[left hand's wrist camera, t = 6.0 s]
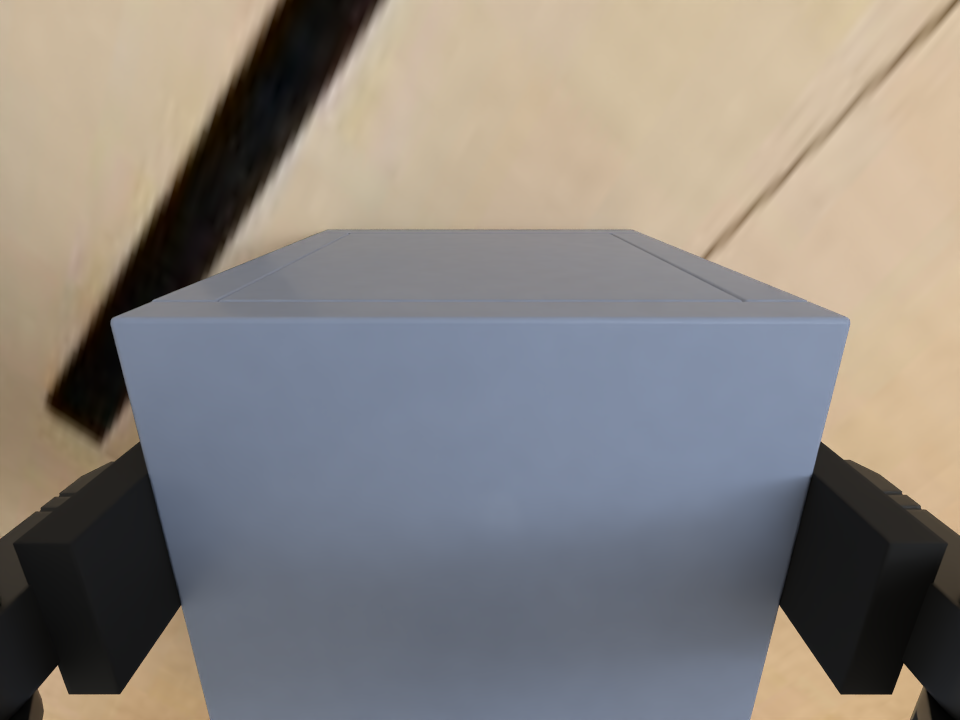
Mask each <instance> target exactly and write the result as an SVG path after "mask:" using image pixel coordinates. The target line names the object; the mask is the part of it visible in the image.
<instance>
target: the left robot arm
mask: <svg viewBox="0 0 960 720" xmlns="http://www.w3.org/2000/svg"><path fill="white" fill-rule="evenodd" d="M59 494H60V495H59V497H54V498H53V499H52V500H50V501H49V502H48V503H46V504H45V505H44V506H42V507H41V510H40V512H35V513H33V514H32V515H31V516H30V517H28V518H27V519H26V520H24V521H23V522H22V523H20V524H19V525H18V526H17V527H15V528H14V529H13V530H11V531H10V532H9V533H7V534H6V535H5V536H4V537H2V538H1V539H0V720H42V719H43V712H44V709H43V703H42V699H41V696H40V694H39V691H38V688H39V686H40V685H41V684H42V683H43V682H44V681H45V679H46V678H47V677H48V676H49V675H50V674H51V672H52V671H53V670H54V669H55V668H56V667H57V665H58V667H59V669H60V672H61V675H62V677H63V680H64V683H65V685H66V688H67V691H68V693H69V694H120V693H121V692H122V691H123V689H124V688H125V686H126V685H127V683H128V682H129V680H130V679H131V677H132V676H133V674H134V673H135V672H136V670H137V669H138V667H139V666H140V664H141V663H142V661H143V660H144V658H145V657H146V656H147V654H148V653H149V651H150V650H151V648H152V647H153V645H154V644H155V642H156V641H157V639H158V638H159V637H160V635H161V634H162V632H163V631H164V629H165V628H166V626H167V625H168V623H169V622H170V620H171V619H172V618H173V616H174V615H175V613H176V612H177V610H178V609H179V607H180V606H181V601H180V597H179V594H178V590H177V586H176V582H175V578H174V574H173V570H172V566H171V562H170V558H169V554H168V550H167V546H166V542H165V538H164V534H163V530H162V526H161V522H160V518H159V514H158V510H157V506H156V502H155V498H154V494H153V490H152V486H151V482H150V478H149V474H148V470H147V467H146V463H145V459H144V455H143V451H142V447H141V443H140V442H139V443H137V444H136V445H135V446H134V447H132V448H131V449H130V450H129V451H127V452H126V453H125V454H124V455H122V456H121V457H120V458H119V459H117V460H116V461H115V462H109V463H107V464H105V465H103V466H101V467H99V468H97V469H95V470H93V471H91V472H89V473H87V474H85V475H83V476H81V477H80V478H79V479H77V480H76V481H75V482H74V483H72V484H71V485H70V486H68V487H67V488H66V489H65V490H63V491H62V492H61V493H59ZM779 605H780V607H781V608H782V609H783V611H784V612H785V614H786V615H787V617H788V618H789V620H790V621H791V623H792V624H793V625H794V627H795V628H796V630H797V631H798V633H799V634H800V636H801V637H802V639H803V640H804V642H805V643H806V644H807V646H808V647H809V649H810V650H811V652H812V653H813V655H814V656H815V658H816V659H817V661H818V662H819V663H820V665H821V666H822V668H823V669H824V671H825V672H826V674H827V675H828V677H829V678H830V679H831V681H832V682H833V684H834V685H835V687H836V688H837V690H838V691H839V693H840V694H892V693H893V690H894V688H895V685H896V682H897V680H898V677H899V674H900V671H901V669H902V666H903V663H904V664H905V665H906V666H907V667H908V669H909V670H910V671H911V672H912V673H913V674H914V676H915V677H916V678H917V679H918V680H919V681H920V683H921V684H922V685H923V688H922V691H921V694H920V696H919V699H918V701H917V704H916V706H915V709H914V711H913V714H912V716H911V719H910V720H960V536H959V535H958V534H957V533H955V532H954V531H953V530H952V529H950V528H949V527H948V526H946V525H945V524H944V523H942V522H941V521H940V520H938V519H937V518H936V517H935V516H933V515H932V514H931V513H929V512H928V511H927V510H922V509H921V506H920V505H919V504H918V503H916V502H915V501H914V500H912V499H911V498H910V497H908V496H907V495H902V491H901V490H899V489H898V488H897V487H895V486H894V485H893V484H891V483H890V482H889V481H888V480H886V479H885V478H884V477H882V476H881V475H880V474H878V473H876V472H874V471H872V470H870V469H868V468H865V467H863V466H861V465H859V464H857V463H855V462H853V461H851V460H843V459H842V458H841V457H839V456H838V455H837V454H836V453H834V452H833V451H832V450H831V449H830V448H828V447H827V446H826V445H825V444H823V443H822V442H821V441H820V445H819V449H818V453H817V457H816V461H815V465H814V469H813V473H812V477H811V481H810V485H809V489H808V493H807V497H806V501H805V505H804V508H803V512H802V516H801V520H800V524H799V528H798V532H797V536H796V540H795V544H794V548H793V552H792V556H791V560H790V564H789V568H788V572H787V576H786V580H785V584H784V588H783V592H782V595H781V599H780V603H779Z"/></svg>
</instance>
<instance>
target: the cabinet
mask: <svg viewBox="0 0 960 720" xmlns="http://www.w3.org/2000/svg"><path fill="white" fill-rule="evenodd" d="M849 327H850V320H849V318H847V317H845V316H842V315H840V314H838V313H835V312H833V311H830V310H828V309H825V308H823V307H820V306H818V305H815V304H813V303H810V302H807V301H806V300H804V299H802V298H799V297H797V296H794V295H792V294H789V293H787V292H785V291H782V290H780V289H777V288H775V287H772V286H770V285H767V284H765V283H762V282H760V281H757V280H755V279H752V278H750V277H748V276H745V275H743V274H740V273H738V272H735V271H733V270H730V269H728V268H725V267H723V266H720V265H718V264H716V263H713V262H711V261H708V260H706V259H703V258H701V257H698V256H696V255H693V254H691V253H688V252H686V251H683V250H681V249H679V248H676V247H674V246H671V245H669V244H666V243H664V242H661V241H659V240H656V239H654V238H651V237H649V236H646V235H644V234H642V233H639V232H637V231H634V230H326V231H323V232H321V233H317V234H315V235H313V236H310V237H308V238H305V239H303V240H300V241H298V242H295V243H293V244H290V245H288V246H285V247H283V248H281V249H278V250H276V251H273V252H271V253H268V254H266V255H263V256H261V257H258V258H256V259H253V260H251V261H248V262H246V263H244V264H241V265H239V266H236V267H234V268H231V269H229V270H226V271H224V272H221V273H219V274H216V275H214V276H211V277H209V278H207V279H204V280H202V281H199V282H197V283H194V284H192V285H189V286H187V287H184V288H182V289H179V290H177V291H174V292H172V293H170V294H167V295H165V296H162V297H160V298H157V299H155V300H152V302H150V303H148V304H145V305H143V306H140V307H138V308H136V309H133V310H131V311H128V312H126V313H123V314H121V315H118V316H116V317H114V318H112V319H111V328H112V332H113V336H114V340H115V344H116V347H117V351H118V355H119V359H120V363H121V367H122V371H123V375H124V379H125V383H126V387H127V391H128V395H129V399H130V403H131V407H132V411H133V415H134V419H135V423H136V427H137V431H138V435H139V439H140V443H141V447H142V451H143V455H144V459H145V463H146V467H147V470H148V474H149V478H150V482H151V486H152V490H153V494H154V498H155V502H156V506H157V510H158V514H159V518H160V522H161V526H162V530H163V534H164V538H165V542H166V546H167V550H168V554H169V558H170V562H171V566H172V570H173V574H174V578H175V582H176V586H177V590H178V594H179V597H180V601H181V605H182V609H183V613H184V617H185V621H186V625H187V629H188V633H189V637H190V641H191V645H192V649H193V653H194V657H195V661H196V665H197V669H198V673H199V677H200V681H201V685H202V689H203V693H204V697H205V701H206V705H207V709H208V713H209V717H210V720H750V718H751V714H752V710H753V706H754V702H755V698H756V694H757V690H758V686H759V682H760V679H761V675H762V671H763V667H764V663H765V659H766V655H767V651H768V647H769V643H770V639H771V635H772V631H773V627H774V623H775V619H776V615H777V611H778V607H779V603H780V599H781V595H782V592H783V588H784V584H785V580H786V576H787V572H788V568H789V564H790V560H791V556H792V552H793V548H794V544H795V540H796V536H797V532H798V528H799V524H800V520H801V516H802V512H803V508H804V505H805V501H806V497H807V493H808V489H809V485H810V481H811V477H812V473H813V469H814V465H815V461H816V457H817V453H818V449H819V445H820V441H821V437H822V433H823V429H824V425H825V422H826V418H827V414H828V410H829V406H830V402H831V398H832V394H833V390H834V386H835V382H836V378H837V374H838V370H839V366H840V362H841V358H842V354H843V350H844V346H845V342H846V338H847V335H848V331H849Z"/></svg>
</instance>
